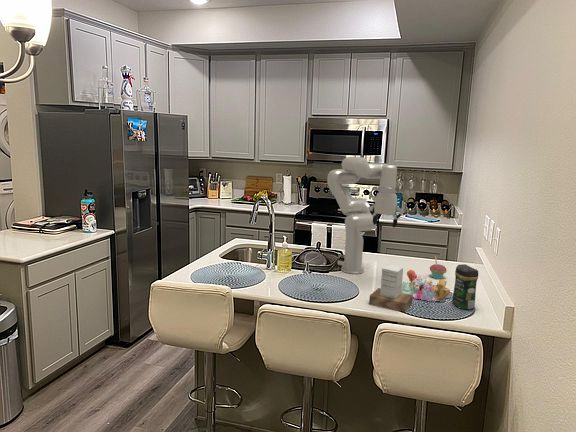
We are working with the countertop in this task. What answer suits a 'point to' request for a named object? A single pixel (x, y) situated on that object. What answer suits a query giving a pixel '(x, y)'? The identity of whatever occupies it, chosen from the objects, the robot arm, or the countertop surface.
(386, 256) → the countertop surface
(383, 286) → the supplement box
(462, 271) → the coffee jar
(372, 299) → the walnut base
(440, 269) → the cupcake
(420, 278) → the candy landscape model
